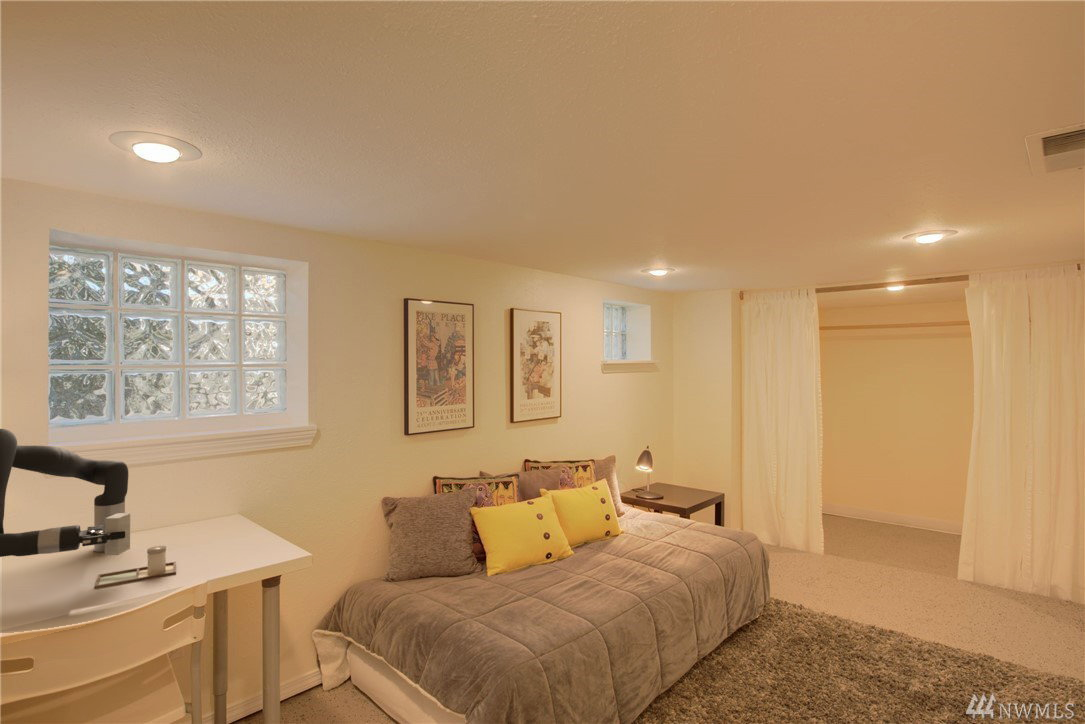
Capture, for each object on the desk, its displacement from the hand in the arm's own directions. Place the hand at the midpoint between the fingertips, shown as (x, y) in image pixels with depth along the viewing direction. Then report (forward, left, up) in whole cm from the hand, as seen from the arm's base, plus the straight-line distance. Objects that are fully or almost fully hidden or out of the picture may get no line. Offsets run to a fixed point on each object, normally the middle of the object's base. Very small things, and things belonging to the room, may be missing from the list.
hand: (125, 531), depth 181 cm
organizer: (0, +3, -16) cm, 17 cm away
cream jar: (0, +8, -15) cm, 17 cm away
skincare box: (0, -2, -7) cm, 7 cm away
